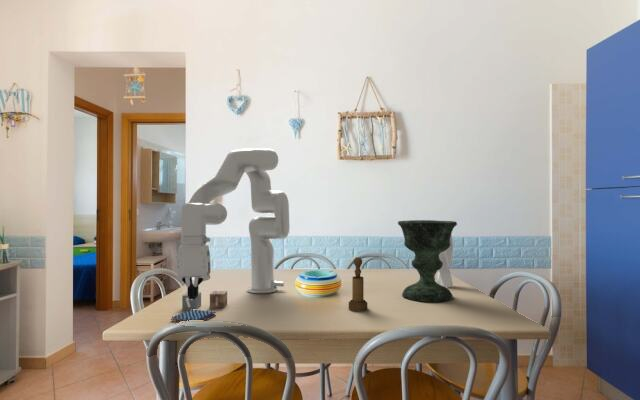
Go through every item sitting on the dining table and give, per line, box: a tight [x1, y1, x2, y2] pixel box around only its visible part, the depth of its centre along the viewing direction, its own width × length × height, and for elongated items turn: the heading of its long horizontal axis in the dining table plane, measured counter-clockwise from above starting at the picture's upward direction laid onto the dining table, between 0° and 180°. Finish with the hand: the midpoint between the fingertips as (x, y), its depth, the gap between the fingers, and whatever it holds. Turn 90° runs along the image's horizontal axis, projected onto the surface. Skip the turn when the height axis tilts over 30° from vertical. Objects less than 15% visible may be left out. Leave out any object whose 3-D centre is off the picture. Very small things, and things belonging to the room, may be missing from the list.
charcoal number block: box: [181, 291, 202, 311], centre depth 135 cm, size 5×5×5 cm
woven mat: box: [170, 309, 217, 323], centre depth 122 cm, size 10×11×2 cm
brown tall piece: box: [348, 257, 369, 312], centre depth 133 cm, size 7×6×18 cm
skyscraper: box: [434, 234, 454, 288], centre depth 170 cm, size 8×8×28 cm
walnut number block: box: [209, 290, 228, 309], centre depth 137 cm, size 5×5×5 cm
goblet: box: [397, 219, 458, 303], centre depth 150 cm, size 22×23×30 cm
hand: (192, 298), depth 122 cm, fingers closed
